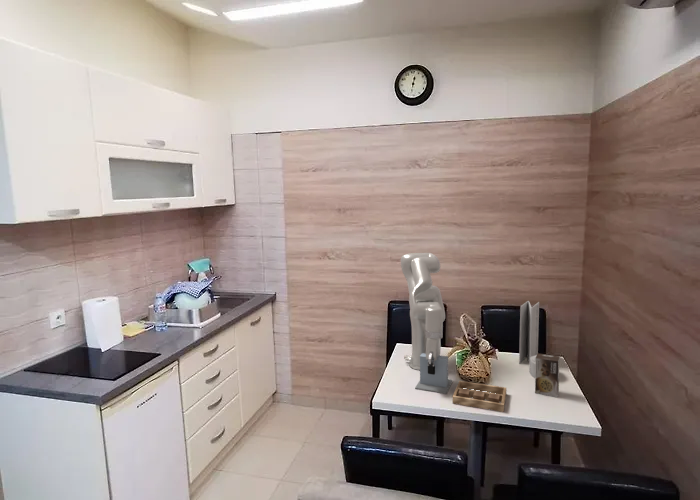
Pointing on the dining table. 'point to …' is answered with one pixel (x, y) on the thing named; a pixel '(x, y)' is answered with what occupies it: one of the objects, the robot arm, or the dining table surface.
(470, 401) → the tray
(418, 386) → the mat
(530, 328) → the brochure
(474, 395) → the offcut
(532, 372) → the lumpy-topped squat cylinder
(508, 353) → the dining table surface
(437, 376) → the panel
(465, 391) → the offcut
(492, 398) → the offcut
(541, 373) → the cookie box
